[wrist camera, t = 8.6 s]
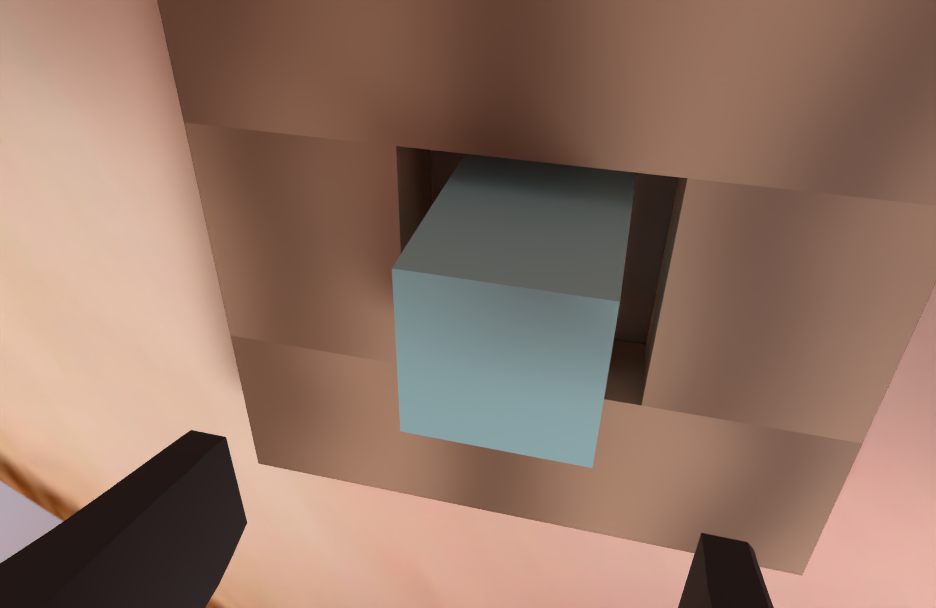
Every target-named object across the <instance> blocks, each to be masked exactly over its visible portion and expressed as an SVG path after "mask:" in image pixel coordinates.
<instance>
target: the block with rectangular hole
mask: <svg viewBox="0 0 936 608" xmlns="http://www.w3.org/2000/svg"><path fill="white" fill-rule="evenodd" d="M157 1H158V5H159V10H160V14H161V19H162V24H163V28H164V33H165V37H166V42H167V46H168V51H169V56H170V60H171V65H172V69H173V74H174V79H175V83H176V88H177V92H178V97H179V101H180V106H181V111H182V115H183V120H184V124H185V129H186V133H187V138H188V143H189V147H190V152H191V156H192V161H193V165H194V170H195V175H196V179H197V184H198V188H199V193H200V198H201V202H202V207H203V211H204V216H205V220H206V225H207V230H208V234H209V239H210V243H211V248H212V252H213V257H214V262H215V266H216V271H217V275H218V280H219V284H220V289H221V294H222V298H223V303H224V307H225V312H226V317H227V321H228V326H229V330H230V335H231V339H232V344H233V349H234V353H235V358H236V362H237V367H238V371H239V376H240V381H241V385H242V390H243V394H244V399H245V403H246V408H247V413H248V417H249V422H250V426H251V431H252V436H253V440H254V445H255V449H256V454H257V458H258V463H259V464H264V465H269V466H274V467H279V468H284V469H288V470H293V471H298V472H303V473H308V474H313V475H317V476H322V477H327V478H332V479H337V480H342V481H347V482H351V483H356V484H361V485H366V486H371V487H376V488H381V489H385V490H390V491H395V492H400V493H405V494H410V495H414V496H419V497H424V498H429V499H434V500H439V501H444V502H448V503H453V504H458V505H463V506H468V507H473V508H478V509H482V510H487V511H492V512H497V513H502V514H507V515H511V516H516V517H521V518H526V519H531V520H536V521H541V522H545V523H550V524H555V525H560V526H565V527H570V528H575V529H579V530H584V531H589V532H594V533H599V534H604V535H608V536H613V537H618V538H623V539H628V540H633V541H638V542H642V543H647V544H652V545H657V546H662V547H667V548H672V549H676V550H681V551H686V552H691V553H695V551H696V548H697V545H698V542H699V538H700V535H701V533H705V534H710V535H715V536H720V537H725V538H730V539H735V540H740V541H745V542H748V543H749V544H750V545H751V546H752V548H753V549H754V551H755V555H756V558H757V561H758V564H759V567H764V568H769V569H773V570H778V571H783V572H788V573H793V574H798V575H803V572H804V570H805V568H806V566H807V564H808V561H809V559H810V557H811V555H812V553H813V550H814V548H815V546H816V544H817V542H818V540H819V537H820V535H821V533H822V531H823V529H824V526H825V524H826V522H827V520H828V518H829V515H830V513H831V511H832V509H833V507H834V504H835V502H836V500H837V498H838V496H839V494H840V491H841V489H842V487H843V485H844V483H845V480H846V478H847V476H848V474H849V472H850V469H851V467H852V465H853V463H854V461H855V459H856V456H857V454H858V452H859V450H860V448H861V445H862V443H863V441H864V439H865V437H866V434H867V432H868V430H869V428H870V426H871V424H872V421H873V419H874V417H875V415H876V413H877V410H878V408H879V406H880V404H881V402H882V399H883V397H884V395H885V393H886V391H887V388H888V386H889V384H890V382H891V380H892V378H893V375H894V373H895V371H896V369H897V367H898V364H899V362H900V360H901V358H902V356H903V353H904V351H905V349H906V347H907V345H908V343H909V340H910V338H911V336H912V334H913V332H914V329H915V327H916V325H917V323H918V321H919V318H920V316H921V314H922V312H923V310H924V308H925V305H926V303H927V301H928V299H929V297H930V294H931V292H932V290H933V288H934V286H935V283H936V0H157ZM430 150H436V151H445V152H454V153H464V154H473V155H482V156H491V157H500V158H509V159H518V160H527V161H536V162H545V163H554V164H563V165H572V166H581V167H590V168H599V169H608V170H617V171H626V172H635V173H644V174H653V175H662V176H671V177H678V182H677V187H676V192H675V197H674V202H673V207H672V213H671V218H670V223H669V228H668V233H667V238H666V243H665V248H664V254H663V259H662V264H661V269H660V274H659V279H658V284H657V290H656V295H655V300H654V305H653V310H652V315H651V320H650V325H649V331H648V336H647V341H646V344H639V343H633V342H626V341H620V340H614V341H613V347H612V353H611V359H610V365H609V371H608V377H607V383H606V390H605V396H604V402H603V408H602V414H601V420H600V426H599V432H598V438H597V444H596V450H595V456H594V462H593V468H589V467H584V466H579V465H573V464H568V463H563V462H558V461H553V460H547V459H542V458H537V457H532V456H526V455H521V454H516V453H511V452H505V451H500V450H495V449H490V448H485V447H479V446H474V445H469V444H464V443H458V442H453V441H448V440H443V439H438V438H432V437H427V436H422V435H417V434H411V433H406V432H401V431H400V416H399V397H398V378H397V359H396V339H395V320H394V301H393V282H392V267H393V266H394V264H395V263H396V261H397V259H398V258H399V256H400V255H401V253H402V252H403V250H404V248H405V247H406V245H407V244H408V242H409V241H410V239H411V237H412V236H413V234H414V233H415V231H416V230H417V228H418V226H419V225H420V223H421V222H422V220H423V219H424V217H425V215H426V214H427V212H428V211H429V209H430V208H431V175H430Z"/></svg>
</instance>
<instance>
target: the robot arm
mask: <svg viewBox="0 0 936 608" xmlns="http://www.w3.org/2000/svg"><path fill="white" fill-rule="evenodd" d="M246 524H247V520H246V516H245V512H244V508H243V504H242V500H241V496H240V492H239V488H238V484H237V480H236V476H235V472H234V468H233V464H232V460H231V456H230V452H229V448H228V444H227V440H226V437H223V436H218V435H213V434H208V433H203V432H198V431H193V430H191V431H189V432H188V433H186V434H185V435H183V436H182V437H181V438H179V439H178V440H176V441H175V442H174V443H172V444H171V445H169V446H168V447H167V448H165V449H164V450H162V451H161V452H160V453H158V454H157V455H156V456H154V457H153V458H151V459H150V460H149V461H147V462H146V463H145V464H143V465H142V466H140V467H139V468H138V469H136V470H135V471H134V472H132V473H131V474H129V475H128V476H127V477H125V478H124V479H123V480H121V481H120V482H118V483H117V484H116V485H114V486H113V487H112V488H110V489H109V490H107V491H106V492H105V493H103V494H102V495H100V496H99V497H98V498H96V499H95V500H93V501H92V502H91V503H89V504H88V505H86V506H85V507H83V508H82V509H81V510H79V511H78V512H76V513H75V514H74V515H72V516H71V517H69V518H68V519H66V520H65V521H64V522H62V523H61V524H59V525H58V526H56V527H55V528H54V529H52V530H51V531H49V532H48V533H46V534H45V535H43V536H42V537H40V538H38V539H37V540H36V541H34V542H32V543H31V544H29V545H28V546H26V547H25V548H23V549H22V550H20V551H19V552H17V553H16V554H14V555H13V556H11V557H10V558H8V559H7V560H5V561H3V562H2V563H0V608H205V607H206V605H207V604H208V602H209V600H210V599H211V597H212V595H213V593H214V592H215V590H216V588H217V587H218V585H219V583H220V581H221V579H222V577H223V575H224V573H225V571H226V568H227V566H228V564H229V562H230V560H231V558H232V556H233V554H234V551H235V549H236V547H237V544H238V542H239V540H240V538H241V535H242V533H243V531H244V528H245V526H246ZM678 608H774V607H773V605H772V602H771V599H770V597H769V594H768V591H767V588H766V585H765V582H764V579H763V576H762V573H761V570H760V567H759V564H758V561H757V558H756V555H755V551H754V549H753V548H752V546H751V545H750V544H749V543H748V542H745V541H740V540H735V539H730V538H725V537H720V536H715V535H710V534H705V533H701V535H700V538H699V542H698V545H697V548H696V551H695V555H694V558H693V561H692V564H691V567H690V571H689V574H688V577H687V580H686V584H685V587H684V590H683V593H682V597H681V600H680V603H679V606H678Z"/></svg>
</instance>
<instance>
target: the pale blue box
mask: <svg viewBox="0 0 936 608" xmlns="http://www.w3.org/2000/svg"><path fill="white" fill-rule="evenodd" d="M636 174H637V173H635V172H626V171H617V170H608V169H599V168H590V167H581V166H572V165H563V164H554V163H545V162H536V161H527V160H518V159H509V158H500V157H491V156H482V155H473V154H464V156H463V157H462V159H461V161H460V162H459V164H458V165H457V167H456V168H455V170H454V172H453V173H452V175H451V176H450V178H449V179H448V181H447V183H446V184H445V186H444V187H443V189H442V190H441V192H440V194H439V195H438V197H437V198H436V200H435V201H434V203H433V205H432V206H431V208H430V209H429V211H428V212H427V214H426V215H425V217H424V219H423V220H422V222H421V223H420V225H419V226H418V228H417V230H416V231H415V233H414V234H413V236H412V237H411V239H410V241H409V242H408V244H407V245H406V247H405V248H404V250H403V252H402V253H401V255H400V256H399V258H398V259H397V261H396V263H395V264H394V266H393V267H392V282H393V301H394V320H395V339H396V359H397V378H398V397H399V416H400V431H401V432H406V433H411V434H417V435H422V436H427V437H432V438H438V439H443V440H448V441H453V442H458V443H464V444H469V445H474V446H479V447H485V448H490V449H495V450H500V451H505V452H511V453H516V454H521V455H526V456H532V457H537V458H542V459H547V460H553V461H558V462H563V463H568V464H573V465H579V466H584V467H589V468H593V462H594V456H595V450H596V444H597V438H598V432H599V426H600V420H601V414H602V408H603V402H604V396H605V390H606V383H607V377H608V371H609V365H610V359H611V353H612V347H613V341H614V335H615V329H616V323H617V317H618V311H619V305H620V298H621V290H622V282H623V274H624V267H625V259H626V251H627V243H628V236H629V228H630V220H631V213H632V205H633V197H634V189H635V182H636Z"/></svg>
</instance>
